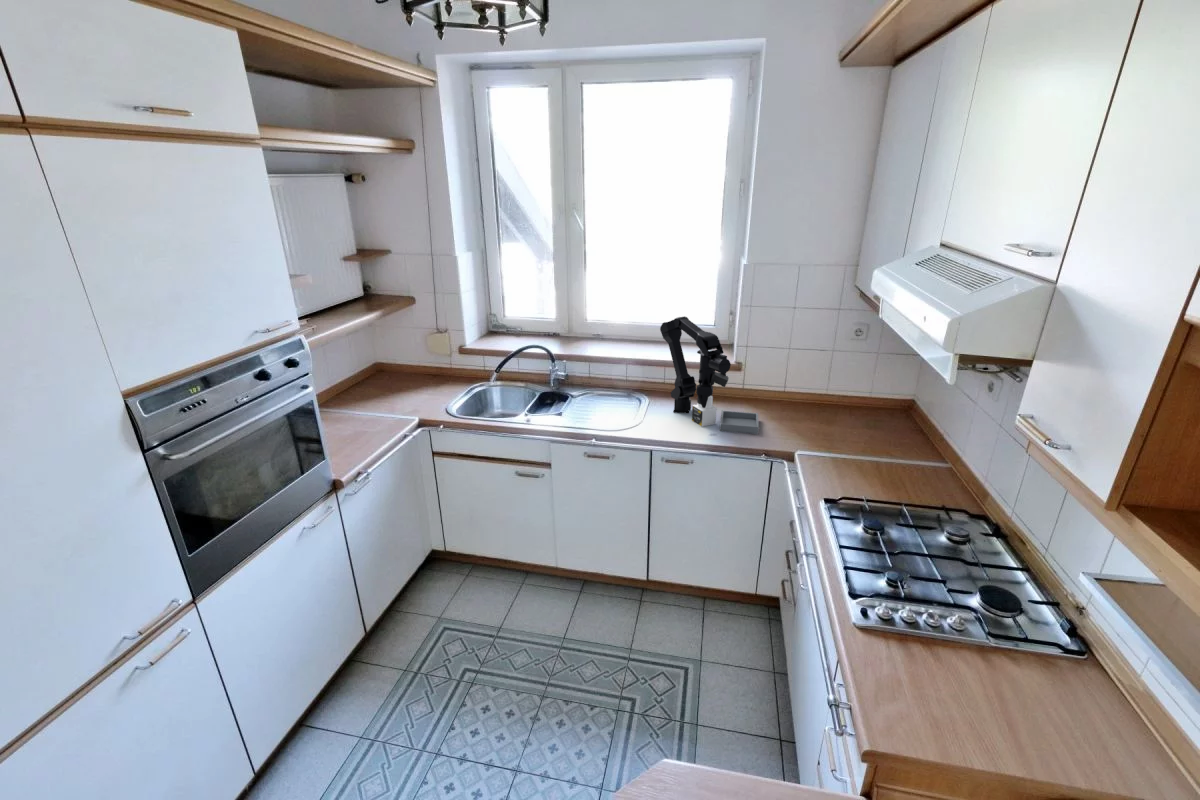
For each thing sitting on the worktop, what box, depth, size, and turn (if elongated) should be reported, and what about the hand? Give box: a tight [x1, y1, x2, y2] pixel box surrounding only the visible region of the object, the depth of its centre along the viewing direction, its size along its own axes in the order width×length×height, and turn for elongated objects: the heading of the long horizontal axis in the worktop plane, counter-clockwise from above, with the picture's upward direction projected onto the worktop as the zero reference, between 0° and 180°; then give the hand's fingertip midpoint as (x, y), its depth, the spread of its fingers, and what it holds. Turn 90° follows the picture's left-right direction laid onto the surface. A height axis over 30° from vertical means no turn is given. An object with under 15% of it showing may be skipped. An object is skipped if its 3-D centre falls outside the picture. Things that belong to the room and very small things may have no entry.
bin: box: [719, 409, 760, 435], centre depth 225 cm, size 15×15×3 cm
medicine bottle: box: [691, 394, 718, 428], centre depth 227 cm, size 7×7×12 cm
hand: (704, 403), depth 226 cm, fingers open, 9 cm apart
